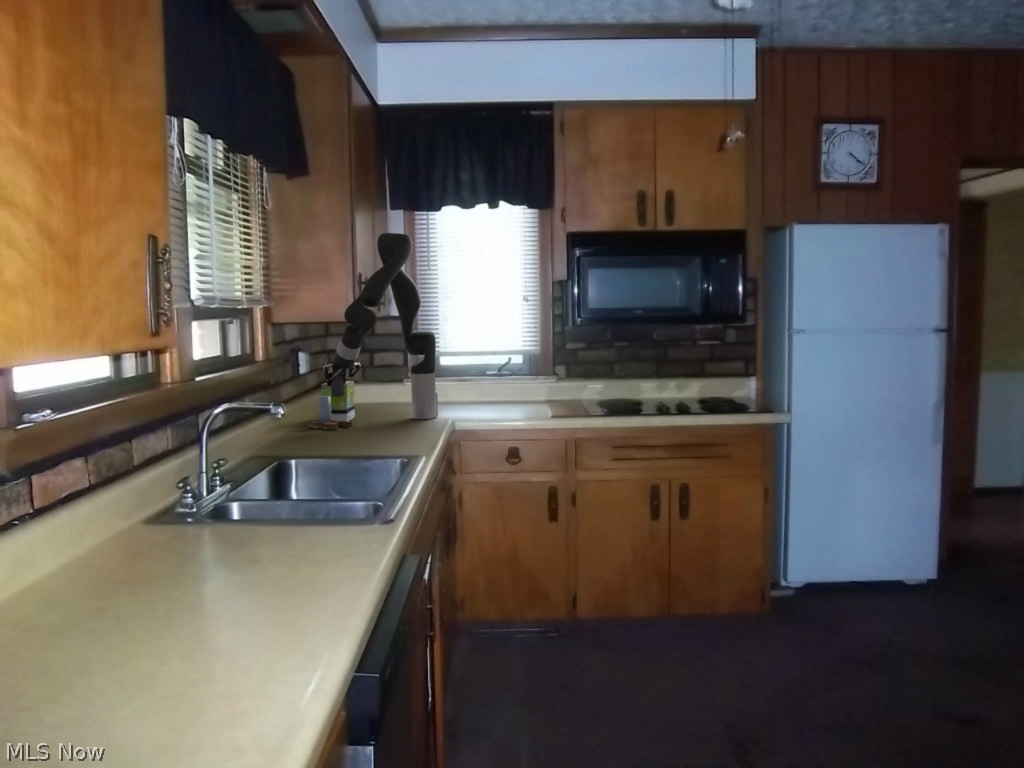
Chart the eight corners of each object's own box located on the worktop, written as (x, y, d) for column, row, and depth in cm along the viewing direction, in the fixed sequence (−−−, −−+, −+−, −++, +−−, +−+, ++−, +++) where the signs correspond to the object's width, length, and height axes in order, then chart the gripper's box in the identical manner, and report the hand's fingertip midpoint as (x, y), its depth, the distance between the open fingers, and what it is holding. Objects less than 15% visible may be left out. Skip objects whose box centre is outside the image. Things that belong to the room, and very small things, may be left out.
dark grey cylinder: (338, 395, 291) (336, 364, 290) (347, 395, 288) (345, 364, 288) (328, 396, 287) (327, 365, 286) (337, 396, 285) (336, 365, 284)
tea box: (348, 423, 302) (346, 383, 301) (321, 423, 302) (319, 384, 301) (355, 417, 317) (354, 379, 316) (330, 418, 317) (328, 380, 316)
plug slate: (325, 425, 296) (324, 395, 295) (334, 426, 294) (333, 396, 293) (316, 427, 292) (315, 397, 291) (325, 428, 290) (323, 397, 289)
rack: (325, 424, 299) (325, 418, 299) (352, 427, 291) (352, 421, 291) (309, 427, 292) (308, 421, 292) (335, 430, 284) (335, 423, 284)
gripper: (363, 342, 284) (350, 375, 295) (324, 344, 276) (312, 377, 287) (370, 358, 280) (356, 390, 291) (331, 360, 272) (319, 393, 283)
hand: (335, 384), depth 289 cm, fingers closed on dark grey cylinder, 4 cm apart
